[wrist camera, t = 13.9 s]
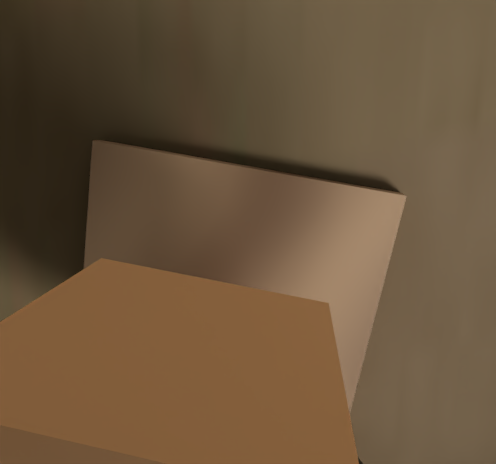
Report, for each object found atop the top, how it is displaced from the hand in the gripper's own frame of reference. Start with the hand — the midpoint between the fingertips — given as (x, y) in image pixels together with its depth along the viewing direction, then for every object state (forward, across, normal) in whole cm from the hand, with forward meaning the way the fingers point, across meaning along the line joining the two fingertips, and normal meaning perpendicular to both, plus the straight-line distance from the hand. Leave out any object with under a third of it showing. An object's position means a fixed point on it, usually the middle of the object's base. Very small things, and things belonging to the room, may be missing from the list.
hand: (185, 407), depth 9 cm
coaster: (+5, 0, 0) cm, 5 cm away
